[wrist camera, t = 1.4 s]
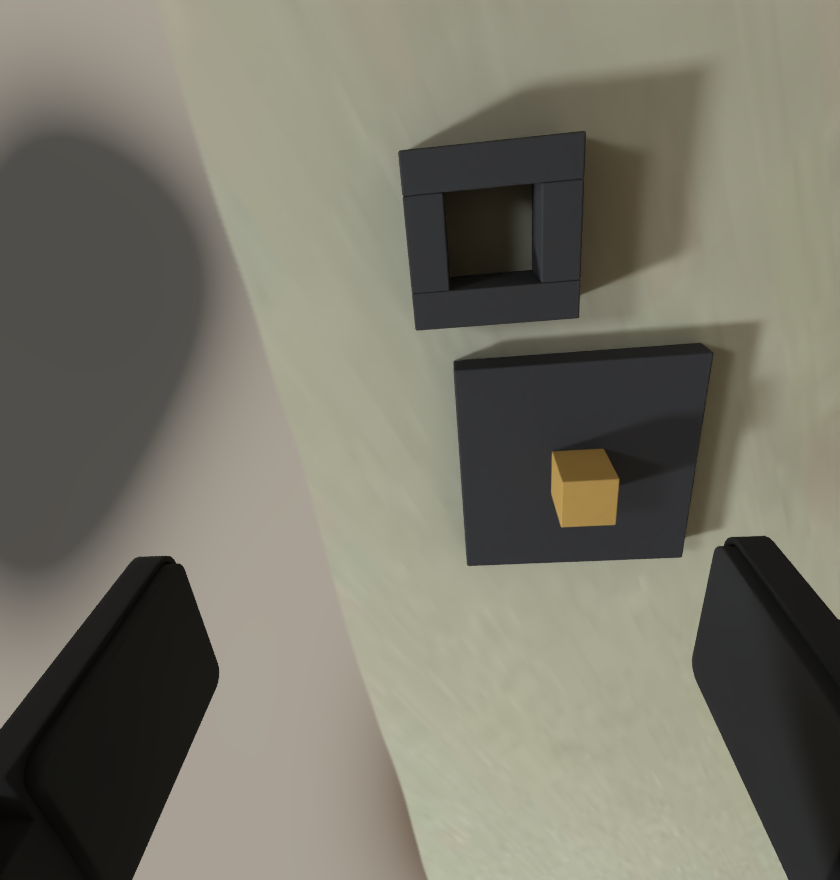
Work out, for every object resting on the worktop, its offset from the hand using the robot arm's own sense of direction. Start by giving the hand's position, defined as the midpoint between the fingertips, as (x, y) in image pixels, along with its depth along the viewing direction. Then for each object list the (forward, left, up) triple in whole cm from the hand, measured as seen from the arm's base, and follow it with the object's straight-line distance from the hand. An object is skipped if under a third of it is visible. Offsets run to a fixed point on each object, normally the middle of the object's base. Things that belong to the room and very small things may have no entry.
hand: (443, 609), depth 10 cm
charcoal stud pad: (+8, +6, -19) cm, 22 cm away
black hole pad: (-4, +2, -19) cm, 20 cm away
